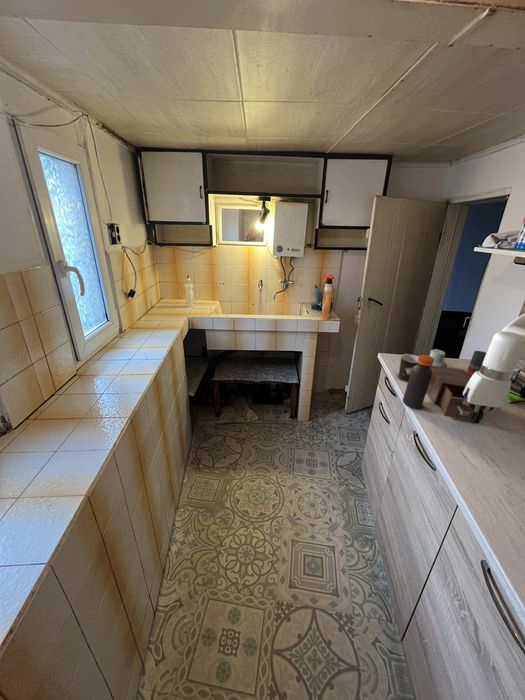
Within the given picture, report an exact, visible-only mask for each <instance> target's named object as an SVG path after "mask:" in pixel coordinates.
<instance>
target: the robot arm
mask: <svg viewBox="0 0 525 700" xmlns="http://www.w3.org/2000/svg"><path fill="white" fill-rule="evenodd" d="M519 361H525V312H524V313H522V314H521V315H519V316H518V317H516V318H515V319H513V320H512V321H510V322H508V324H507V325H506V326H505V327H503V328H502V329H501V331H497V332H496V333H495V334H493V337H492V339H491V341H490V344H489V346H488V348H487V351H486V356H485V358H484V361H483V363H482V365H481V368H480V370H479V371H476V372H475V373H474V374H473V375H472V377H471V378H470V380H469V382H468V383H467V385H466V387H465V389H464V392H463V396H465V397H464V398H463V400H462V403H463V404H465V405H468V406H470V407H471V408H472V410H471V412H470V415H469V418H470V420H469V421H471V422H472V424H476V425H480V422H481V421H482V420H483V418H484V415H487V414H488V413H489V412H490V411H496V410H498V411H500V410H501V409H502V407H504V406H505V404H506V402H507V400H508V397H509V394H510V391H511V388H512V387H511V386H512V377H513V376H517V375H518V371H517V370H515V369H516V367H517V366H518V364H519Z"/></svg>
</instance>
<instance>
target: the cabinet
mask: <svg viewBox="0 0 525 700" xmlns="http://www.w3.org/2000/svg"><path fill="white" fill-rule="evenodd" d="M430 368H431V370H432V371H433V374H432V377H431V380H430V383H429V386H428V389H427V392H428V395H429V397H430V399H431V400H432V402H433V404H434V405H440V406H441V404H440V403H439V401H438V398H439V396H440V393H441V390H442V387H443V385H449V386H456V387H462V388H465V387H466V385H467V383H468V382H469V380H470V376H469V375H468V374H467V373H466V372H467V371H466V370H465V369H460V368H454V367H447V368H446V367H439V366H431V367H430Z"/></svg>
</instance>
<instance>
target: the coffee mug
mask: <svg viewBox="0 0 525 700" xmlns="http://www.w3.org/2000/svg"><path fill="white" fill-rule="evenodd" d="M418 357H419V355H418V356H417V355H415V354H411V353H403V354H401V356H400V363H399V369H398V379H400V380H401V381H404V382H407V383H408V381H409V377H410V374H411V371H412V368H413V366H415V365H417V364H418V363H417V361H418Z"/></svg>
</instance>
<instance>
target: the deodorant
mask: <svg viewBox="0 0 525 700" xmlns="http://www.w3.org/2000/svg"><path fill="white" fill-rule="evenodd" d="M486 353H487V351H486V352H485V351H481V350H474V351H473V354H472V357H471V359H470V362H469V364H468V367H467V370H466V371H465V372H466V373H467V374H468V375H469V376H470V378H471V377H472V375H473V374H474V373H475V372H476V371H479V370H480V368H481V365H482V363H483V361H484V358H485V356H486Z"/></svg>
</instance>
